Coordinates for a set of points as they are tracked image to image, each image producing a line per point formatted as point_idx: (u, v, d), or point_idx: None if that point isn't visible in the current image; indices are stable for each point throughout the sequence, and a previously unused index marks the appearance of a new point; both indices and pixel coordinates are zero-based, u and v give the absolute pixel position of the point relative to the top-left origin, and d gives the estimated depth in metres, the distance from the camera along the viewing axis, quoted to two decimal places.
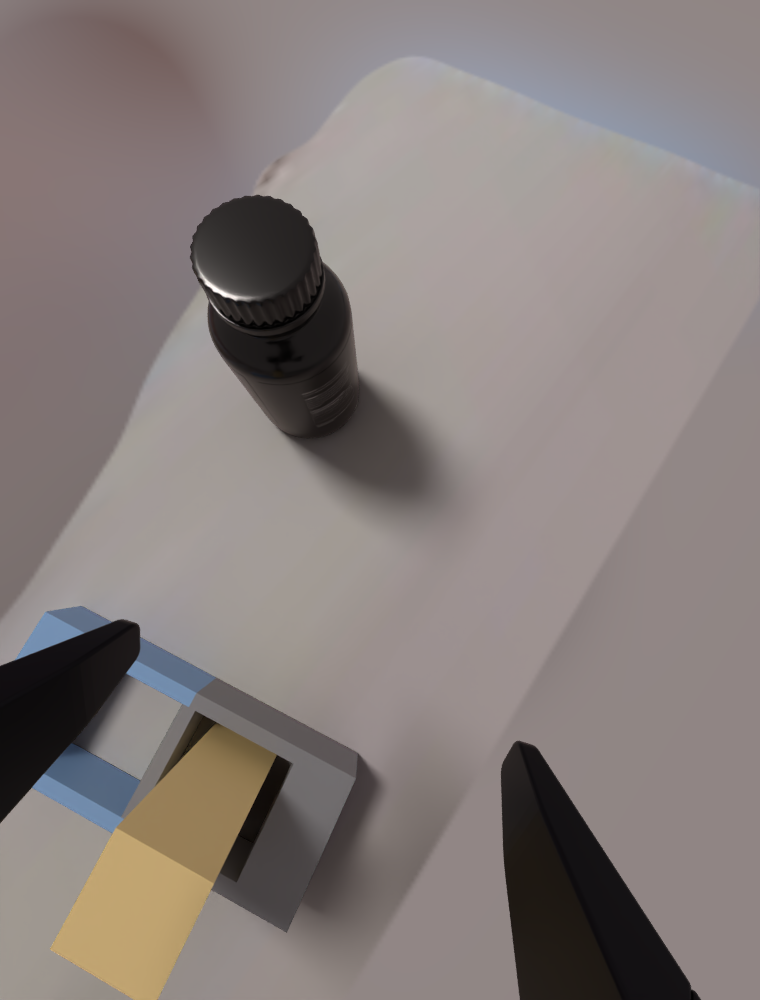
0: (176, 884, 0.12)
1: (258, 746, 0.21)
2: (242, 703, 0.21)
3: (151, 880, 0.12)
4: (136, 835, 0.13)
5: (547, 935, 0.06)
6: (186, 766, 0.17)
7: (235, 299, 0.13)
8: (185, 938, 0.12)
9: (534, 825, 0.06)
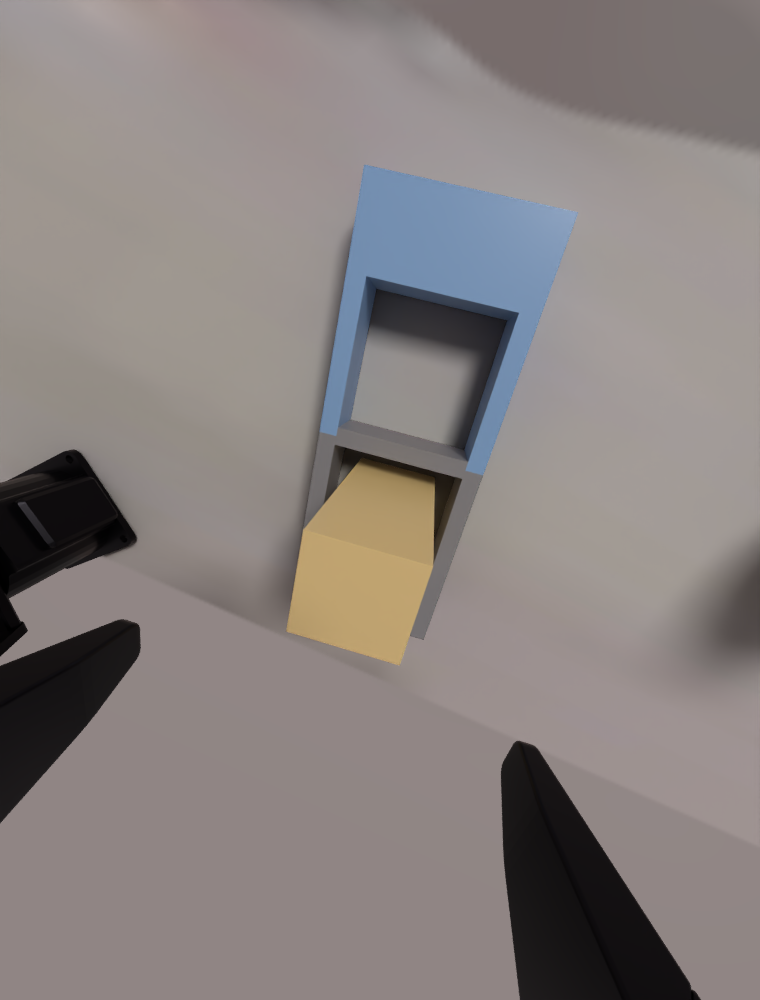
0: (391, 634, 0.12)
1: None
2: None
3: (389, 611, 0.11)
4: (426, 584, 0.11)
5: (547, 935, 0.06)
6: None
7: None
8: (347, 647, 0.12)
9: (534, 825, 0.06)
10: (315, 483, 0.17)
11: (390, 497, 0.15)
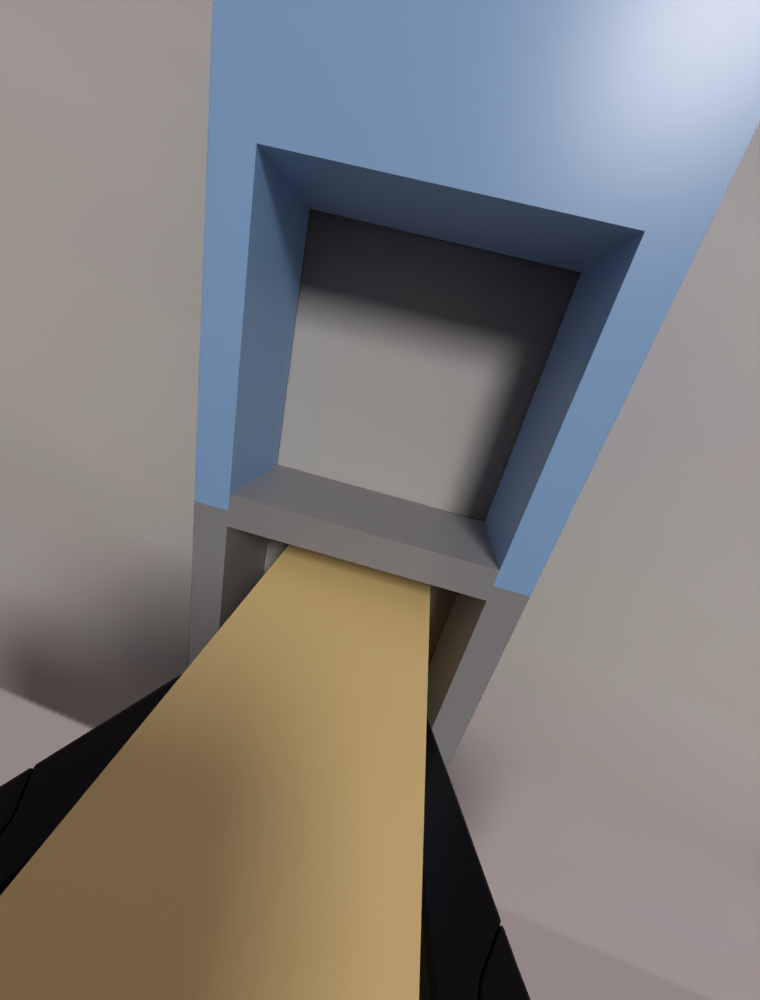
0: None
1: None
2: None
3: None
4: None
5: None
6: None
7: None
8: None
9: None
10: (199, 594, 0.09)
11: (326, 671, 0.06)
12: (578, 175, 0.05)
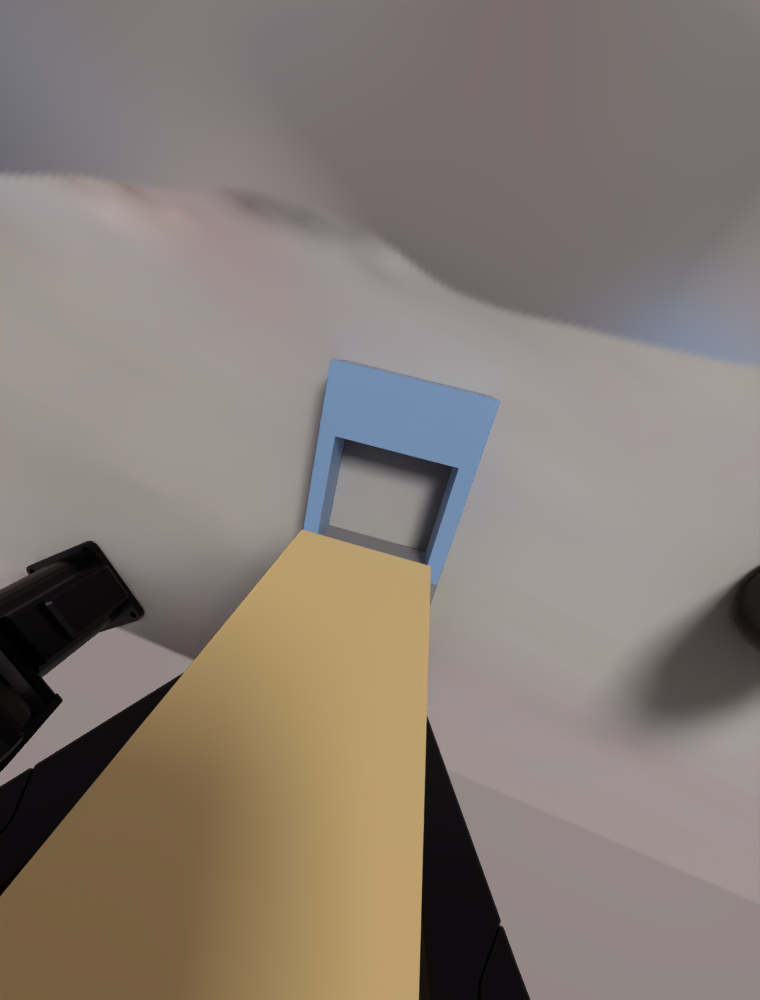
0: None
1: None
2: None
3: None
4: None
5: None
6: None
7: None
8: None
9: None
10: None
11: (326, 671, 0.06)
12: (436, 452, 0.16)
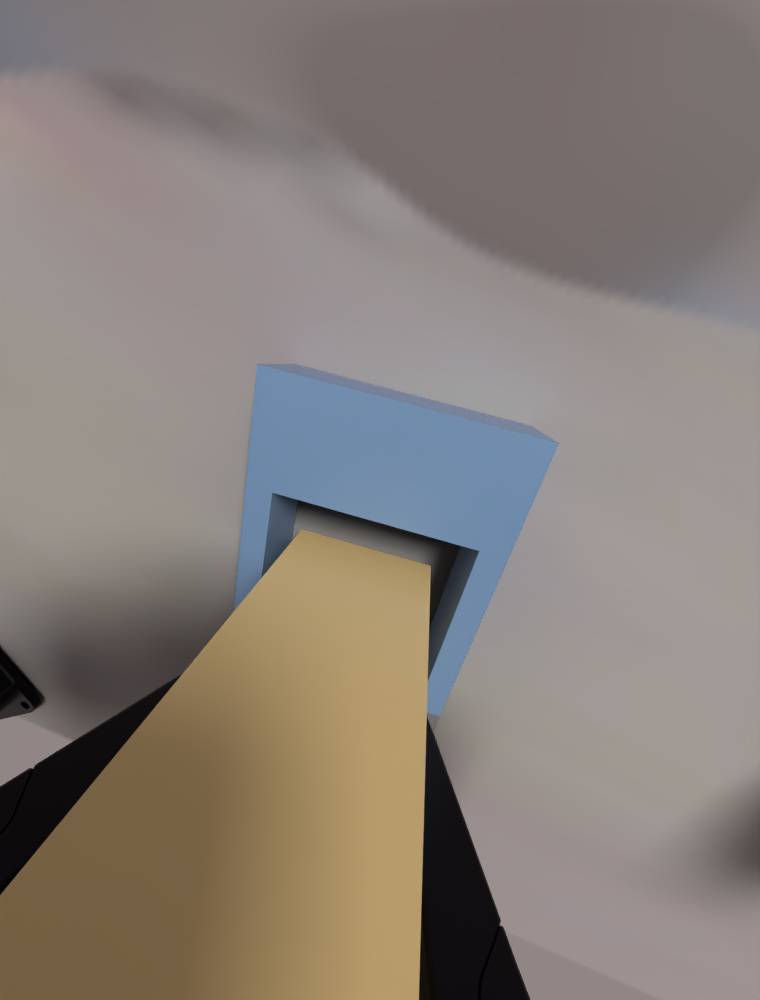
0: None
1: None
2: None
3: None
4: None
5: None
6: None
7: None
8: None
9: None
10: None
11: (326, 671, 0.06)
12: (442, 525, 0.10)
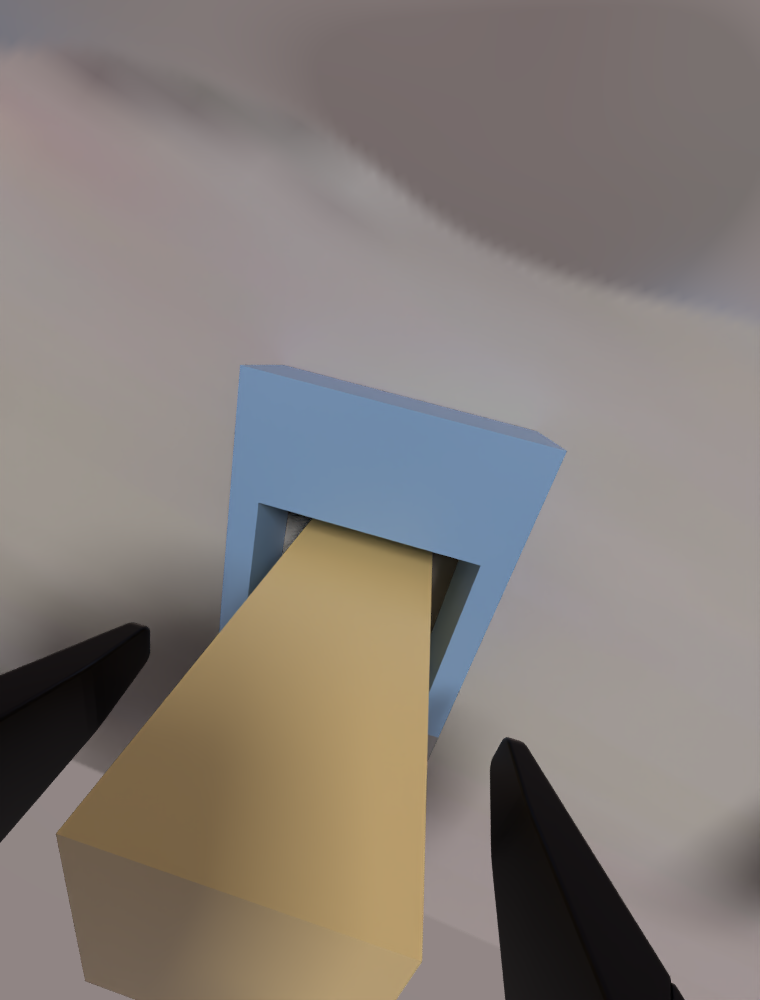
0: None
1: None
2: None
3: None
4: (403, 972, 0.04)
5: (531, 930, 0.06)
6: None
7: None
8: None
9: (520, 821, 0.06)
10: None
11: (347, 618, 0.08)
12: (441, 537, 0.09)
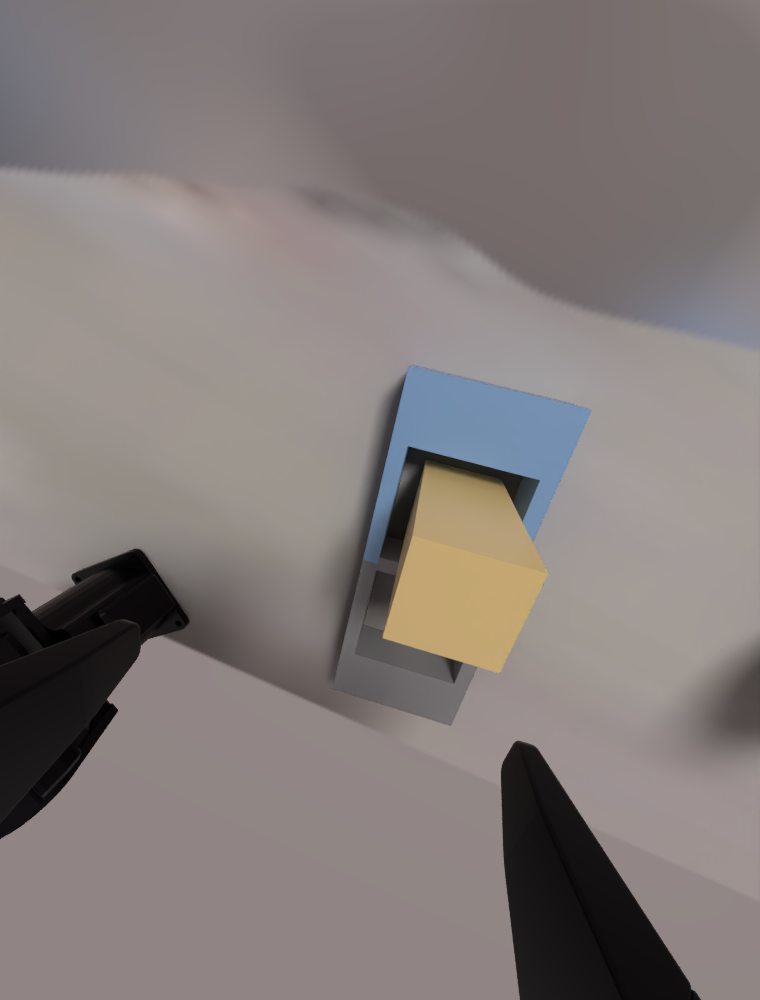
0: (494, 642, 0.11)
1: None
2: None
3: (495, 618, 0.11)
4: (536, 592, 0.11)
5: (547, 935, 0.06)
6: None
7: None
8: (445, 655, 0.12)
9: (534, 825, 0.06)
10: (357, 599, 0.20)
11: (472, 501, 0.14)
12: (517, 463, 0.16)
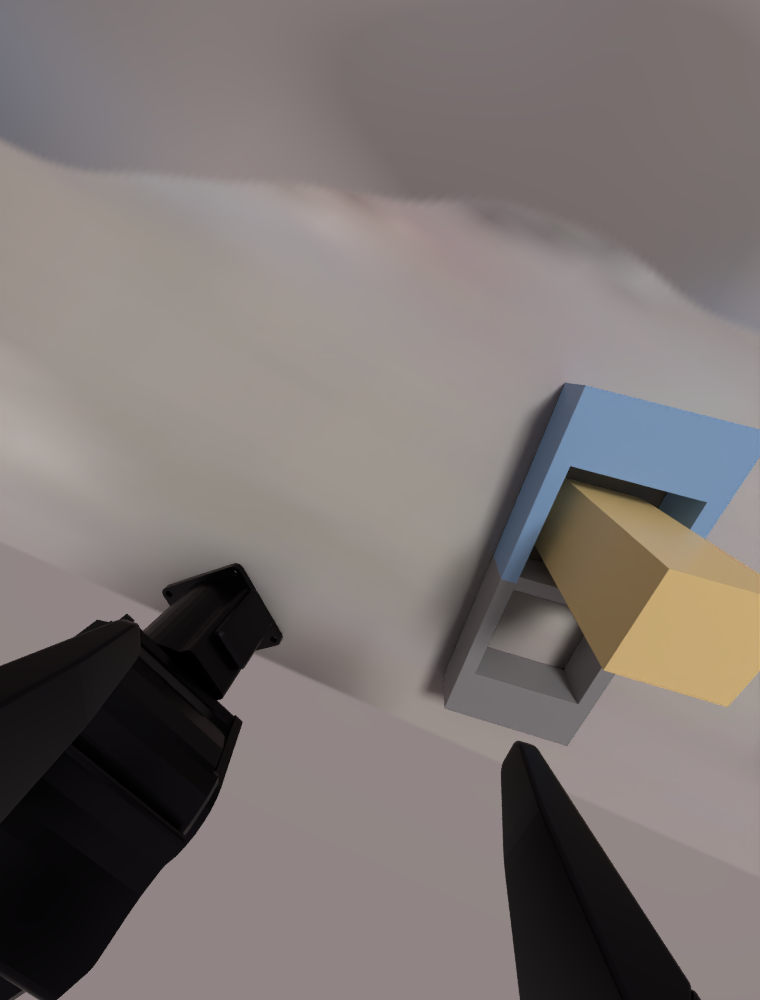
0: (730, 676, 0.11)
1: None
2: None
3: (738, 653, 0.11)
4: None
5: (547, 935, 0.06)
6: None
7: None
8: (670, 688, 0.12)
9: (534, 825, 0.06)
10: (488, 618, 0.19)
11: (656, 525, 0.14)
12: (685, 485, 0.15)
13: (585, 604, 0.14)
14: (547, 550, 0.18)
